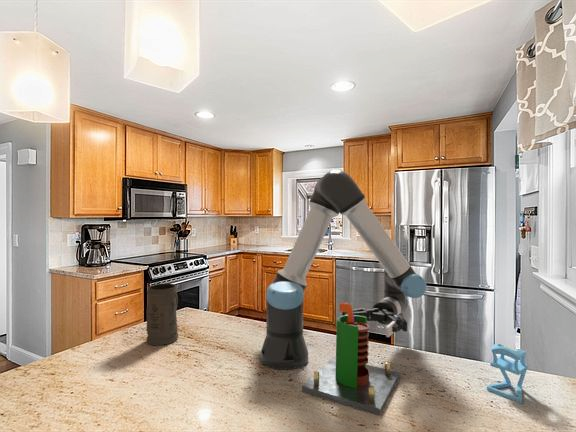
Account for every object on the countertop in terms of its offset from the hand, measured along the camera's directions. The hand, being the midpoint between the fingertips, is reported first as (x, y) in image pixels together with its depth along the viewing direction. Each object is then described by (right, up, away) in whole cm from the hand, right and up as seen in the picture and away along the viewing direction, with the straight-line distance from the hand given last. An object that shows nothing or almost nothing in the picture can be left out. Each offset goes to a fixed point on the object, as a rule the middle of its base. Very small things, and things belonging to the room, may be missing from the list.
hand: (363, 327), depth 93 cm
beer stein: (-67, -14, +27) cm, 74 cm away
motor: (-4, -12, -5) cm, 14 cm away
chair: (+36, -14, -8) cm, 40 cm away
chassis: (-4, -14, -5) cm, 15 cm away
